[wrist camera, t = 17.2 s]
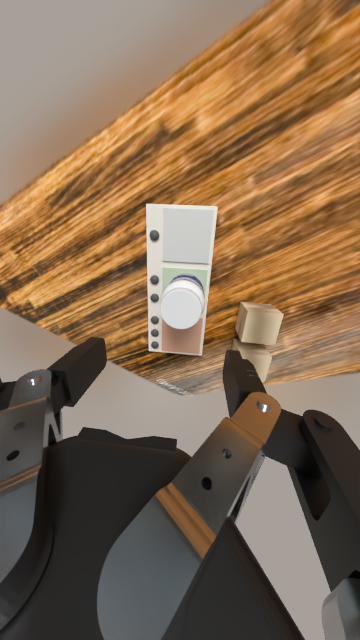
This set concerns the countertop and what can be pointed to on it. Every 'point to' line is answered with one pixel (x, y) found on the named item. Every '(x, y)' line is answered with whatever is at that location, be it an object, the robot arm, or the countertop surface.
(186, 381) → the countertop surface
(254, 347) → the maple block
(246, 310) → the maple block
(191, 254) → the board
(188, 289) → the pill bottle
